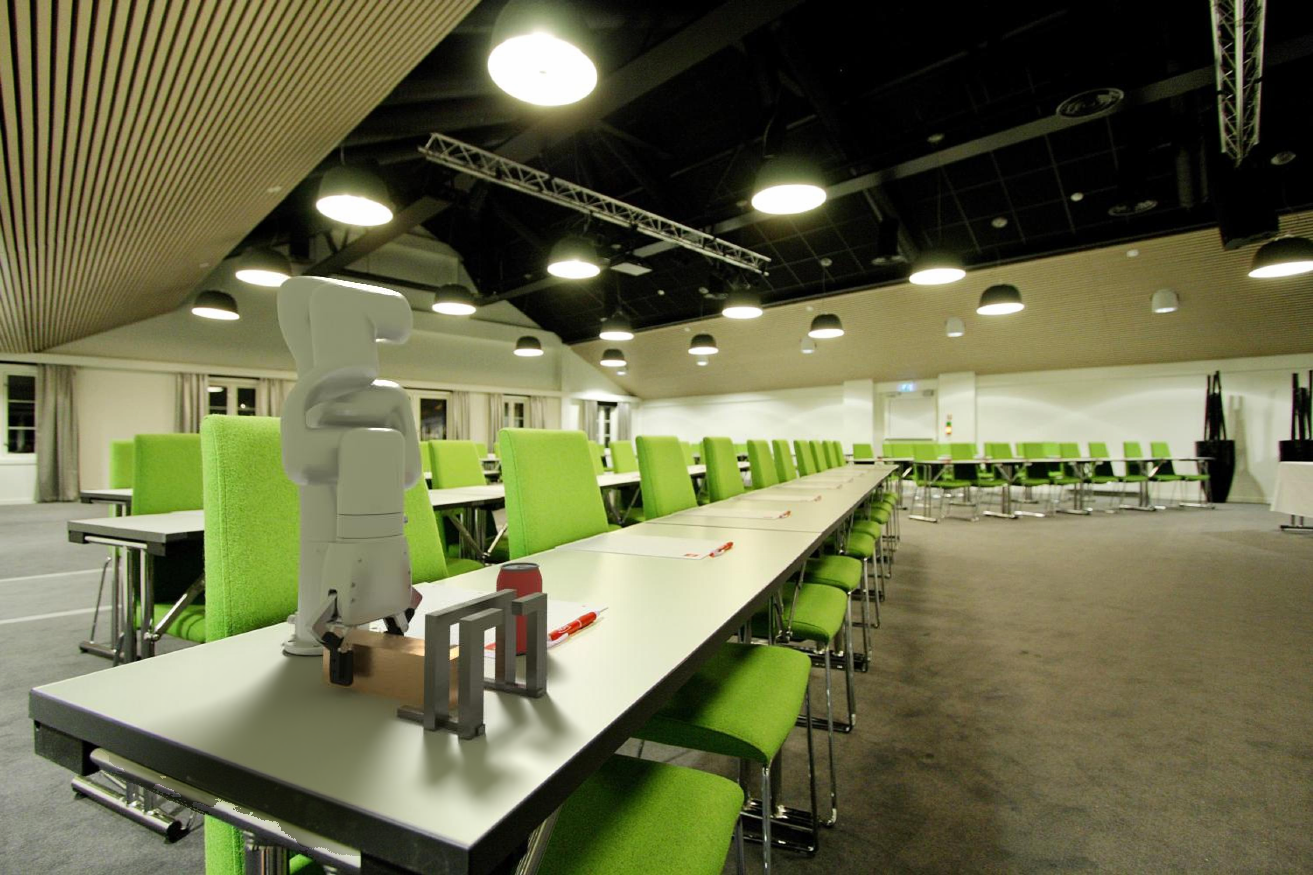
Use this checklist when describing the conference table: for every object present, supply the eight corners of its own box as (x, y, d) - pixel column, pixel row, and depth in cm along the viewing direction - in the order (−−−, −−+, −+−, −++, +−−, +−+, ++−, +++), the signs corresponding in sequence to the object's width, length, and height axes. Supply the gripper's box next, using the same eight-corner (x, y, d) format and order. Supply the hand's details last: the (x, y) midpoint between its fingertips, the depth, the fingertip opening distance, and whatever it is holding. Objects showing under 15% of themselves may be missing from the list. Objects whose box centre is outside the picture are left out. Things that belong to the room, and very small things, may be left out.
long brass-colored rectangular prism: (322, 683, 71) (323, 637, 71) (354, 670, 75) (355, 628, 76) (448, 711, 63) (448, 660, 63) (476, 696, 67) (477, 648, 68)
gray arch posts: (389, 720, 61) (391, 609, 61) (474, 677, 73) (476, 585, 73) (471, 740, 56) (472, 621, 57) (548, 691, 68) (549, 593, 69)
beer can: (530, 657, 80) (531, 570, 81) (486, 654, 82) (487, 568, 82) (549, 643, 87) (549, 562, 87) (508, 640, 88) (508, 560, 88)
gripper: (404, 519, 81) (402, 648, 81) (281, 534, 66) (277, 694, 65) (445, 522, 78) (443, 656, 78) (327, 537, 63) (323, 705, 62)
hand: (368, 672), depth 71 cm, fingers open, 6 cm apart
